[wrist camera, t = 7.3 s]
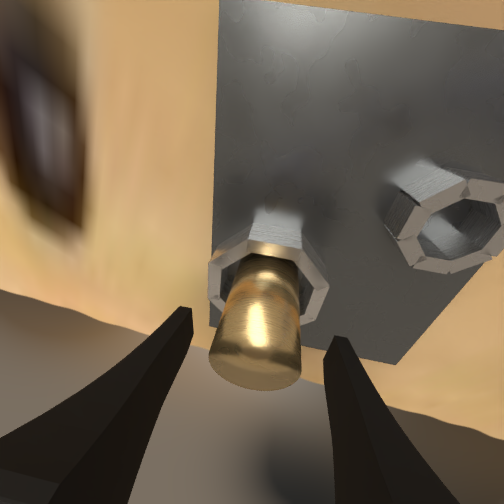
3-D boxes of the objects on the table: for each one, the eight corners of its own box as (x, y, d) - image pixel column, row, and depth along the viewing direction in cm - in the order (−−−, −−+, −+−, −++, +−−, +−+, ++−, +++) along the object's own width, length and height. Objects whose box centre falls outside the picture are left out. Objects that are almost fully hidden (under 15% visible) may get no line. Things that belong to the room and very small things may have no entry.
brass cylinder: (306, 252, 15) (315, 350, 9) (288, 296, 17) (286, 398, 11) (245, 236, 15) (213, 324, 9) (235, 283, 17) (205, 377, 11)
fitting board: (616, 57, 9) (765, 37, 6) (389, 349, 20) (405, 390, 17) (228, 8, 10) (202, -31, 7) (214, 313, 21) (201, 346, 18)
